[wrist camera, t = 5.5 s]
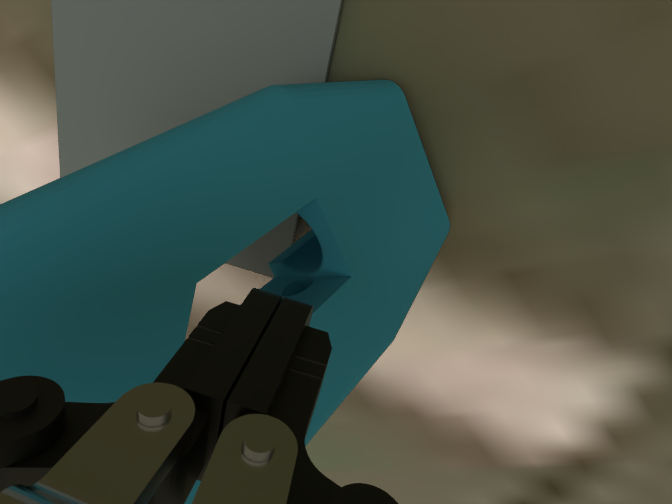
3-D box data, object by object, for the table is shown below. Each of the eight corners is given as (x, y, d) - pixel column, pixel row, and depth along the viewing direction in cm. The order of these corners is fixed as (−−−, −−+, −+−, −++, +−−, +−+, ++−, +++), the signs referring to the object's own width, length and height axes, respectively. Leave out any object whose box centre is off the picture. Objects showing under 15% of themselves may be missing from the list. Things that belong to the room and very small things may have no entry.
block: (465, 266, 25) (142, 666, 13) (390, 268, 29) (81, 582, 16) (383, 34, 21) (-203, 293, 9) (308, 70, 25) (-186, 289, 12)
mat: (354, -53, 22) (352, -54, 21) (286, 276, 30) (283, 281, 30) (53, -128, 23) (44, -132, 23) (68, 209, 32) (62, 213, 31)
